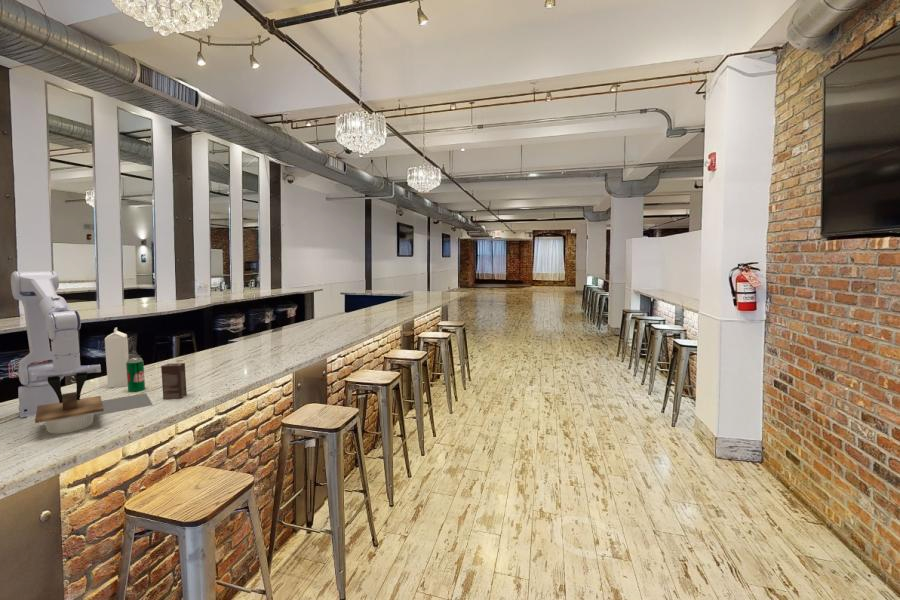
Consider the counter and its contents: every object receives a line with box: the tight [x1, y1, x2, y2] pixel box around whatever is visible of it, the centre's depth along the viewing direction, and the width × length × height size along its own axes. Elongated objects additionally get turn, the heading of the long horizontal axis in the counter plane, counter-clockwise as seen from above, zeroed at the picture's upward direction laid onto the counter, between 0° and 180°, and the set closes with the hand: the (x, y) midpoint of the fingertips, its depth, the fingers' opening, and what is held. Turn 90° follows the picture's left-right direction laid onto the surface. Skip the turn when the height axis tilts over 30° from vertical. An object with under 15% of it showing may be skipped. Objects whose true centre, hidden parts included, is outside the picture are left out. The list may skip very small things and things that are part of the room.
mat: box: [93, 393, 154, 417], centre depth 141 cm, size 16×16×1 cm
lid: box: [34, 391, 104, 424], centre depth 122 cm, size 14×14×4 cm
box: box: [160, 362, 188, 400], centre depth 148 cm, size 6×4×12 cm
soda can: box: [126, 357, 146, 393], centre depth 155 cm, size 5×5×12 cm
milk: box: [104, 327, 130, 389], centre depth 162 cm, size 6×6×22 cm
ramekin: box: [44, 413, 95, 434], centre depth 122 cm, size 11×11×5 cm
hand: (69, 400), depth 122 cm, fingers closed on lid, 3 cm apart
